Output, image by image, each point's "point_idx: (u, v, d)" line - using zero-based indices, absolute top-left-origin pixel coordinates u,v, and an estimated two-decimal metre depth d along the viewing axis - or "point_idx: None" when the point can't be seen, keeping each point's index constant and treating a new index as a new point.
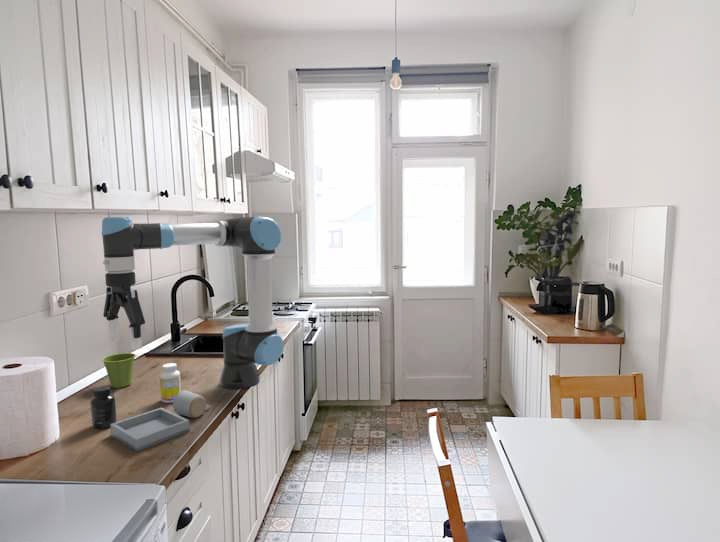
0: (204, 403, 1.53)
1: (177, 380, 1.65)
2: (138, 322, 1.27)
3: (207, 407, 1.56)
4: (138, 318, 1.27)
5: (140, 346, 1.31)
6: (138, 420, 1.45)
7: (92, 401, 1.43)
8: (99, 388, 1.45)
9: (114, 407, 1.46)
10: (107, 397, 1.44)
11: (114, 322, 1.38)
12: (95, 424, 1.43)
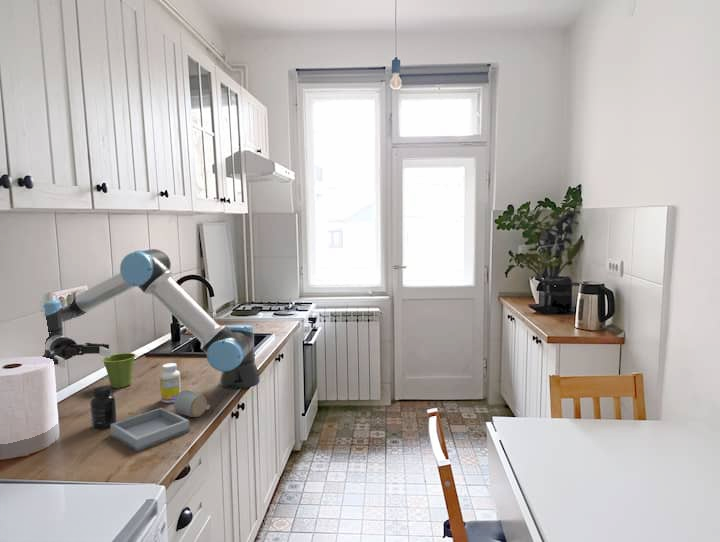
0: (205, 403, 1.54)
1: (177, 380, 1.65)
2: None
3: (208, 407, 1.56)
4: None
5: (61, 360, 1.45)
6: (138, 420, 1.45)
7: (92, 401, 1.43)
8: (99, 388, 1.45)
9: (114, 407, 1.46)
10: (107, 397, 1.44)
11: (100, 350, 1.59)
12: (95, 424, 1.43)
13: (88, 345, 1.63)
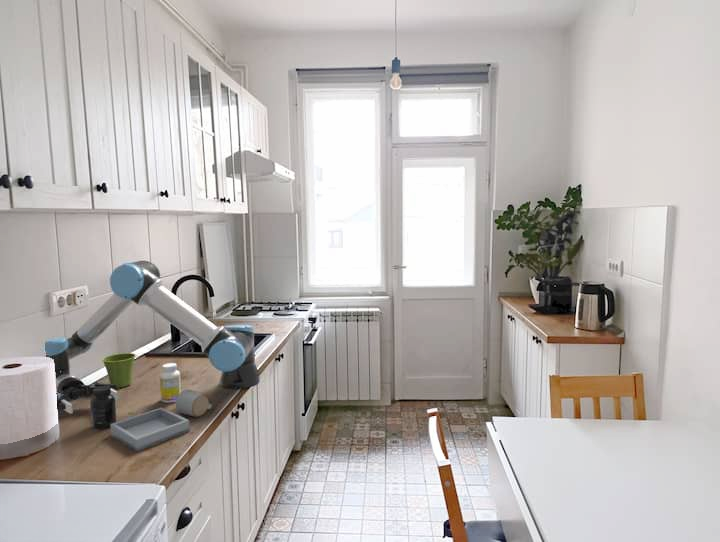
0: (206, 402, 1.54)
1: (177, 380, 1.65)
2: None
3: (209, 406, 1.57)
4: None
5: (68, 406, 1.43)
6: (138, 420, 1.45)
7: (92, 401, 1.43)
8: (99, 388, 1.45)
9: (114, 407, 1.46)
10: (107, 397, 1.44)
11: None
12: (95, 424, 1.43)
13: (95, 385, 1.62)
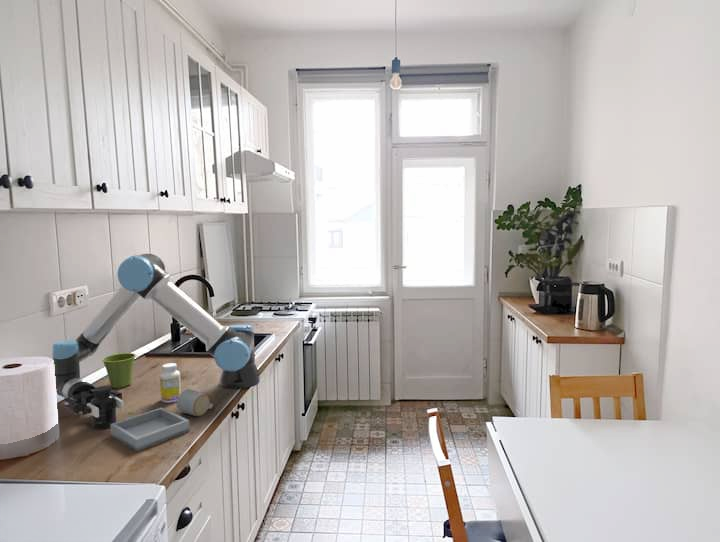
0: (208, 401, 1.55)
1: (177, 380, 1.65)
2: (75, 411, 1.42)
3: (211, 405, 1.57)
4: (73, 409, 1.43)
5: (95, 409, 1.40)
6: (138, 420, 1.45)
7: (92, 401, 1.43)
8: (99, 388, 1.45)
9: (114, 407, 1.46)
10: (107, 397, 1.44)
11: None
12: (95, 423, 1.43)
13: None
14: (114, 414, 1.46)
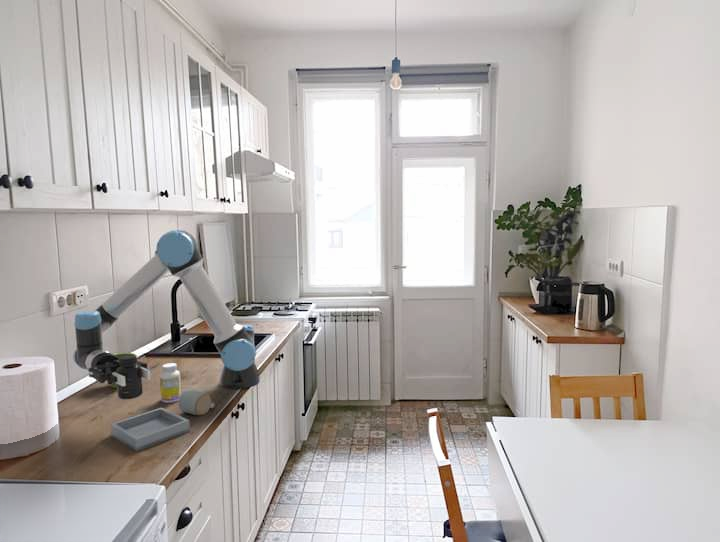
0: (209, 401, 1.55)
1: (177, 380, 1.65)
2: (100, 380, 1.36)
3: (212, 405, 1.58)
4: (98, 378, 1.37)
5: (121, 378, 1.34)
6: (138, 420, 1.45)
7: (118, 370, 1.37)
8: (125, 357, 1.39)
9: (140, 377, 1.40)
10: (133, 366, 1.38)
11: None
12: (121, 393, 1.37)
13: None
14: (140, 384, 1.40)
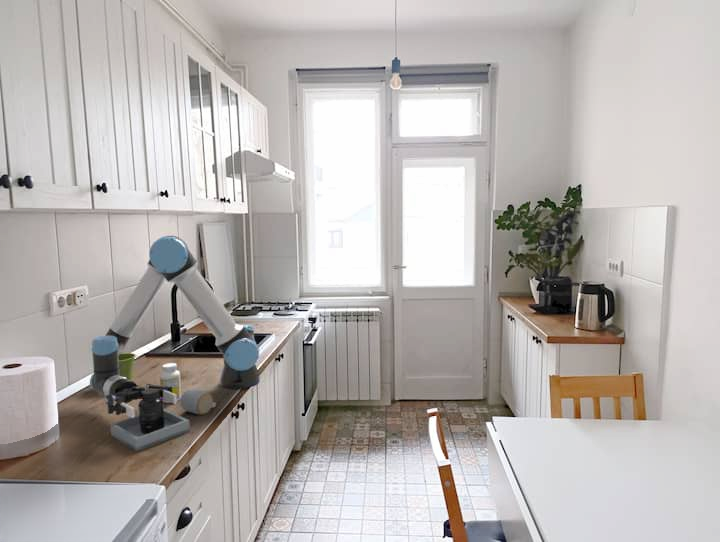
0: (211, 400, 1.56)
1: (177, 380, 1.65)
2: (108, 411, 1.35)
3: (214, 404, 1.58)
4: None
5: (130, 409, 1.32)
6: (138, 420, 1.45)
7: (141, 404, 1.37)
8: (147, 391, 1.40)
9: (162, 410, 1.41)
10: (156, 400, 1.39)
11: (164, 394, 1.46)
12: (144, 428, 1.38)
13: (150, 387, 1.50)
14: (162, 418, 1.40)
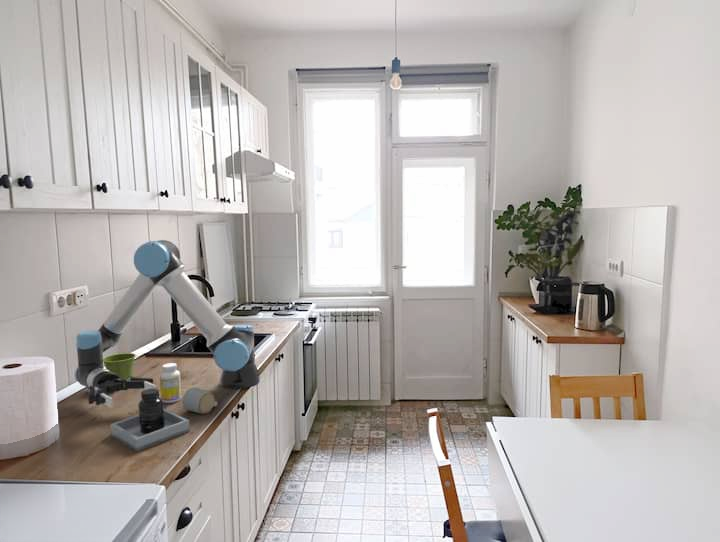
0: (213, 399, 1.56)
1: (177, 380, 1.65)
2: None
3: (215, 403, 1.59)
4: None
5: (109, 399, 1.40)
6: (138, 420, 1.45)
7: (141, 404, 1.37)
8: (147, 391, 1.39)
9: (162, 410, 1.40)
10: (155, 400, 1.39)
11: (145, 385, 1.54)
12: (144, 428, 1.38)
13: (131, 379, 1.58)
14: (162, 418, 1.40)
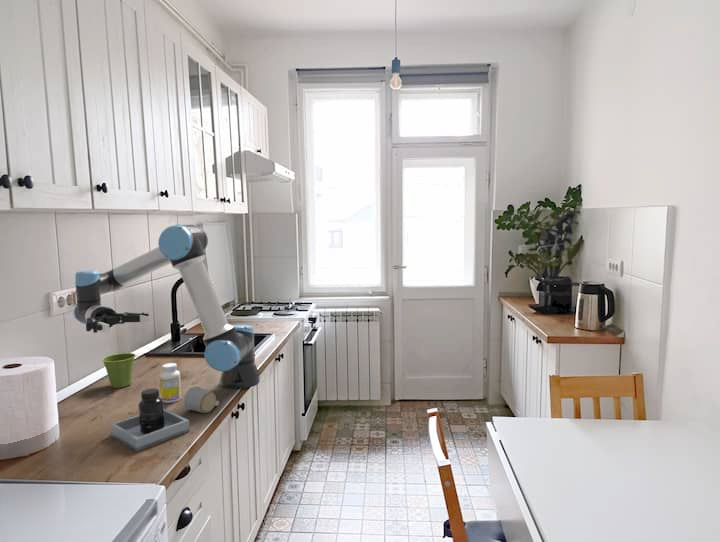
0: (214, 399, 1.57)
1: (177, 380, 1.65)
2: (86, 328, 1.49)
3: (217, 403, 1.60)
4: None
5: (105, 325, 1.46)
6: (138, 420, 1.45)
7: (141, 404, 1.37)
8: (147, 391, 1.40)
9: (162, 410, 1.41)
10: (155, 400, 1.39)
11: (140, 318, 1.60)
12: (144, 428, 1.38)
13: (128, 314, 1.65)
14: (162, 418, 1.40)
